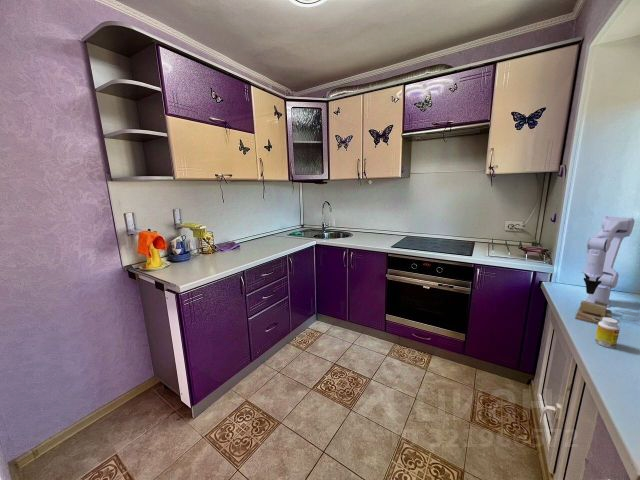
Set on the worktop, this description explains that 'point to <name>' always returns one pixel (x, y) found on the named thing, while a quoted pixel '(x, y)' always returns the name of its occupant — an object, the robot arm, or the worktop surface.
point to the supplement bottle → (607, 332)
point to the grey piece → (603, 303)
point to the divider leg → (593, 308)
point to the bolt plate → (591, 316)
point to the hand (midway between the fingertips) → (590, 291)
